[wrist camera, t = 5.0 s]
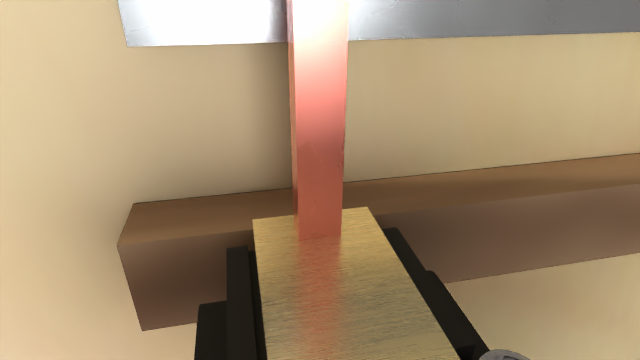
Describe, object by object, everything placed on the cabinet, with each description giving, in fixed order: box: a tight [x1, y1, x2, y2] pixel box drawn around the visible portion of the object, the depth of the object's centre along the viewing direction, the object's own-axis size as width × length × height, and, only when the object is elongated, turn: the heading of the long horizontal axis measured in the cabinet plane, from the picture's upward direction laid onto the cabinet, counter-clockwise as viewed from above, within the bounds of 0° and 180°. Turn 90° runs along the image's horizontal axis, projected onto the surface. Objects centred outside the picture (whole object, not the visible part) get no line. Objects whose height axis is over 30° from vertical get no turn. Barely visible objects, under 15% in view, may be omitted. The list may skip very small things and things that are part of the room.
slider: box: [252, 0, 460, 360], centre depth 7 cm, size 10×3×7 cm, turn 0°
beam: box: [117, 153, 640, 331], centre depth 11 cm, size 10×24×4 cm, turn 90°
